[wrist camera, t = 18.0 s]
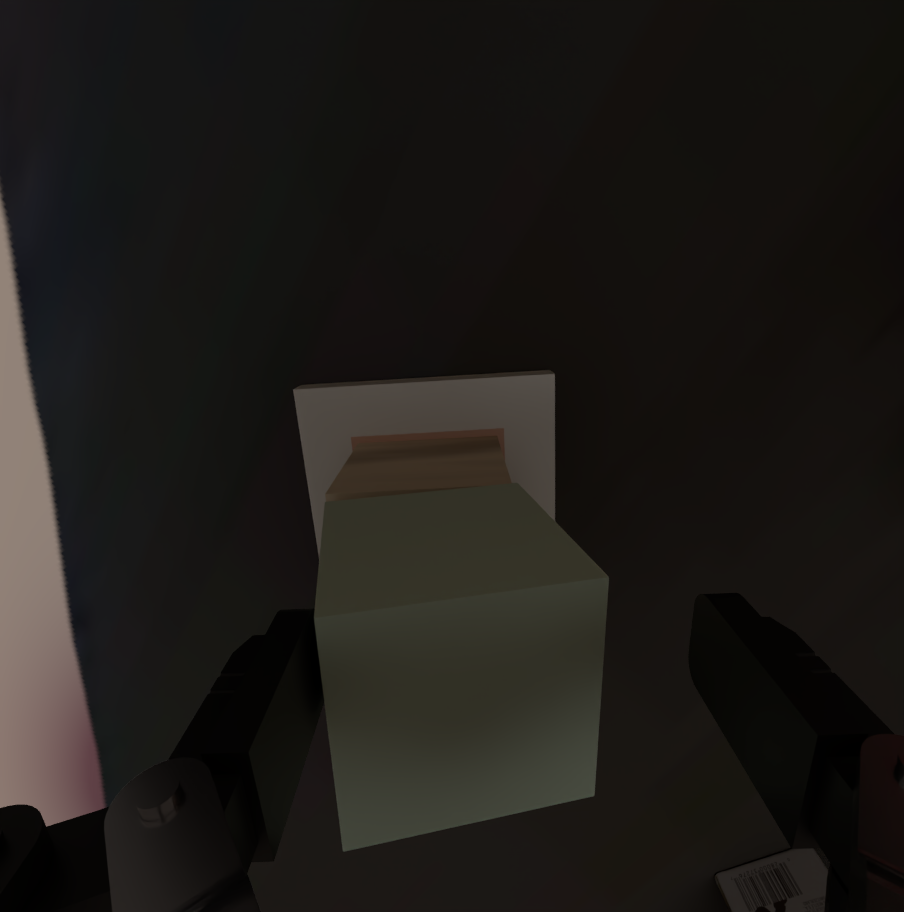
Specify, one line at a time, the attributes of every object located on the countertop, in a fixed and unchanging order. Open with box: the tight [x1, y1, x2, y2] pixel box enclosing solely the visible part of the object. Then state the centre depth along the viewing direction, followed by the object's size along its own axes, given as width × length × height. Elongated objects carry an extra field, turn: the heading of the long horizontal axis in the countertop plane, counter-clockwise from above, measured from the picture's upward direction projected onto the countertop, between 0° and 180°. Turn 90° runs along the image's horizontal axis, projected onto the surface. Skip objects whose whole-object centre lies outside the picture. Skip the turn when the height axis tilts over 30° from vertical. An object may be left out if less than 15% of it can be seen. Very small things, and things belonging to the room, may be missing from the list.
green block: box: [314, 483, 609, 852], centre depth 14 cm, size 6×6×6 cm
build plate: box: [293, 370, 555, 558], centre depth 24 cm, size 11×11×1 cm
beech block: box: [325, 436, 512, 502], centre depth 20 cm, size 6×6×6 cm
